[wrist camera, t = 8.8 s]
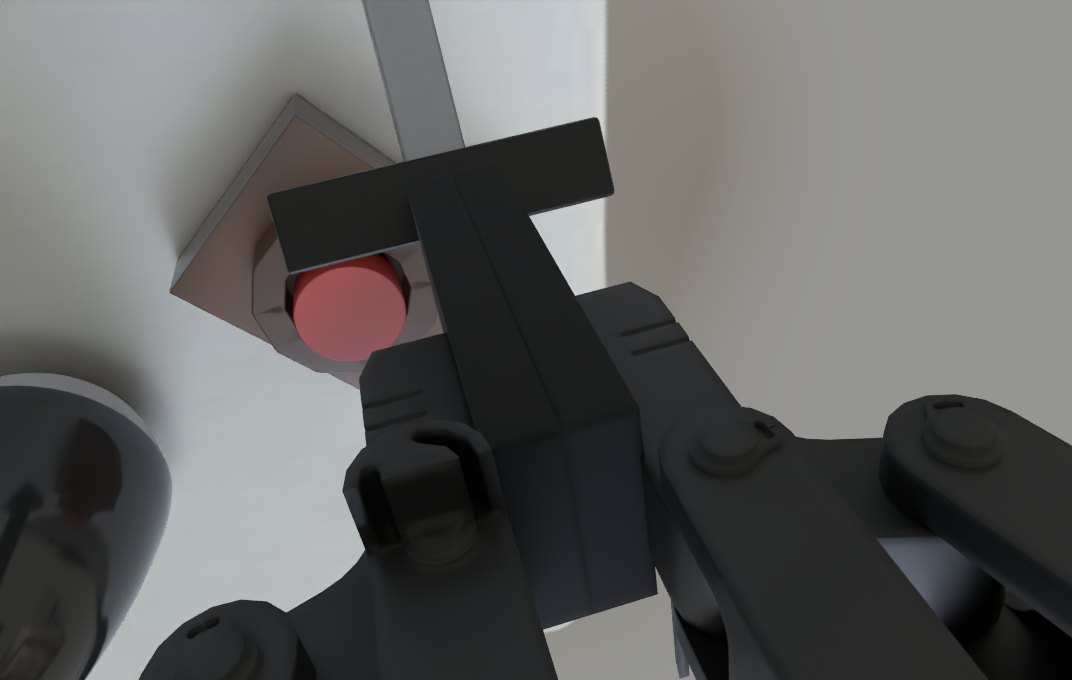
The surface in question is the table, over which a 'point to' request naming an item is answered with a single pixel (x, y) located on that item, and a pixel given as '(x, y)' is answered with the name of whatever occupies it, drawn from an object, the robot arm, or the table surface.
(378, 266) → the red push button
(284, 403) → the table surface
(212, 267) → the switch box
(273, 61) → the table surface
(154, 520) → the pump dispenser
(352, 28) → the table surface
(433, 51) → the pivoting lever
